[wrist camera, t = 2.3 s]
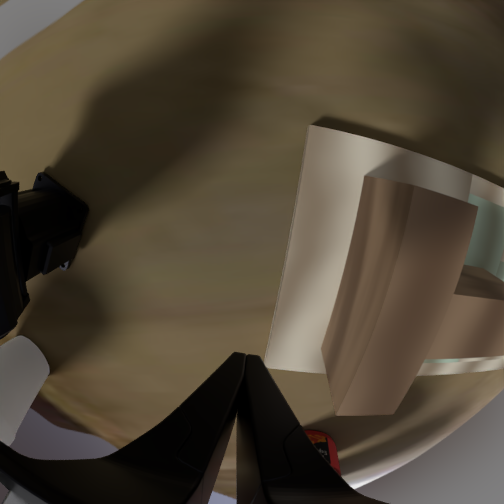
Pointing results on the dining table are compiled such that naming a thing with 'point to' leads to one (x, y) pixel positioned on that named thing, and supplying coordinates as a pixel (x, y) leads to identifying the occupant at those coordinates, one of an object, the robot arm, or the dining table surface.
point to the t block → (407, 297)
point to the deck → (340, 233)
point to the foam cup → (19, 382)
